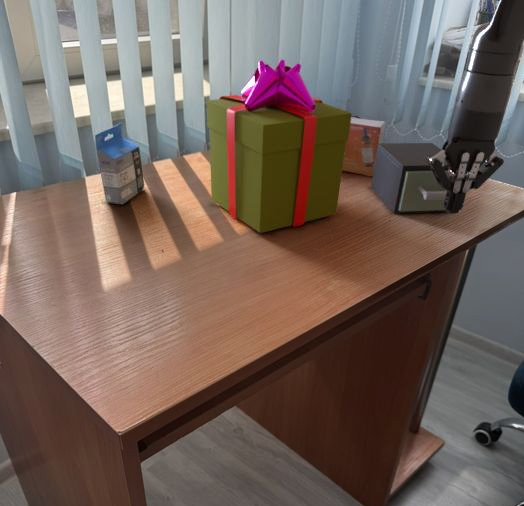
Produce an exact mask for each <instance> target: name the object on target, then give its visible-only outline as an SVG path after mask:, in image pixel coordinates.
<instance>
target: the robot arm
mask: <svg viewBox="0 0 524 506" xmlns="http://www.w3.org/2000/svg"><path fill="white" fill-rule="evenodd" d="M493 1H496V2H498V3H497V6H496V7H495V10H494V13H493V16H492V17H491V19H490V21H489V22H485V23H482V24H480V25H479V26H478V27H477V28H476V30H475V31H474V33H473V36H472V38H471V43H470V46H469V51H468V54H467V58H466V63H465V67H464V71H463V74H462V77H461V79H460V81H459V84H458V85H459V86H458V89H457V92H456V95H455V98H454V99H455V101H454V105H453V109H452V113H451V114H452V115H451V117H450V120H449V121H450V122H449V126H448V130H447V138H446V140H445V142H444V143H443V144H442V147H441V151H440V152H439V153H437V154H436V155H435V156H433V155H429V156H428V157H427V162H428V164H429V166H430V168H431V170H432V172H433V174H434V176H435V178H436V180H437V182H438V184H439V185H441V186H442V187H443V188H444V189H445V190H447V193H446V197H445V201H444V204H443V205H444V208H445V210H446V211H447V212H446V213H448V214H449V215H451V214H453V215H455V214H459V211H461V210H462V208H463V207H464V203H465V200H466V195H467V193H468V192H470V191H471V190H473V189H474V190H478V189H479V188H481V187H482V185H483V184H485V182H487V180H489V178H491V177H492V176H493V175H494V174H495V172H497V171H498V170H499V169H500V168H501V167H502V166H503V165H504V162H505V160H504V159H503V158H502V157H500V156H499V155H498V154H497V153H496V151H495V150H496V142H495V141H496V139H497V138H498V137H499V134H500V130H501V127H502V124H503V120H504V117H505V113H506V110H507V107H508V103H509V100H510V97H511V94H512V90H513V83H514V77H515V73H516V71H517V67H518V63H519V62H520V57H521V54H522V50H523V46H524V0H493ZM445 159H446V161H447V163H448V166H449V169H448V174H449V177H447V175H446V173H445V171H444V169H443V167H444V165H445V161H444V160H445Z"/></svg>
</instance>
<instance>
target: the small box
mask: <svg viewBox="0 0 524 506" xmlns="http://www.w3.org/2000/svg"><path fill="white" fill-rule="evenodd" d="M385 128H386V121H384V120H374V119H367V118H366V119H365V118H361V119H359V118H355V117H351V123H350V130H349V138H348V140H346V143H345V151H344V159H343V166H342V172H347V173H354V174H359V175H363V176H368V177H373V172H374V166H375V161H376V155H377V149H378V144H383V140H384V133H385Z"/></svg>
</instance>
